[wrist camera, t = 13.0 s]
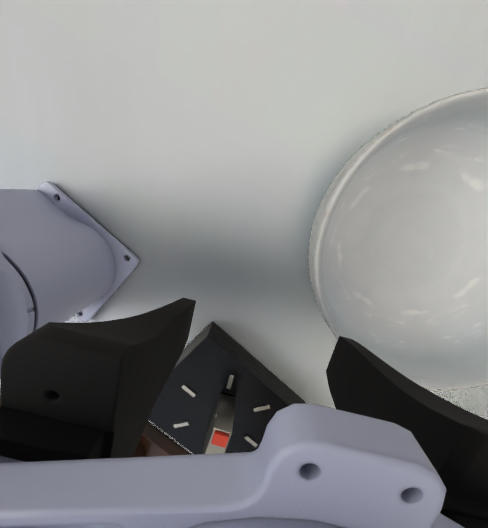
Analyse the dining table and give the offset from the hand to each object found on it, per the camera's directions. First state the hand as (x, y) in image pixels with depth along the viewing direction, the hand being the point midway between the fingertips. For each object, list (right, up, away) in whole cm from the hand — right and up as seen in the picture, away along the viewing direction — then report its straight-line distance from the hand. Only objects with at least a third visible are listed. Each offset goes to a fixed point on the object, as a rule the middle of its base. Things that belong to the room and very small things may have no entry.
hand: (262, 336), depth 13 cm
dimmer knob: (-3, -10, +10) cm, 14 cm away
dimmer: (-3, -9, +13) cm, 16 cm away
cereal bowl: (+12, +5, +8) cm, 15 cm away
